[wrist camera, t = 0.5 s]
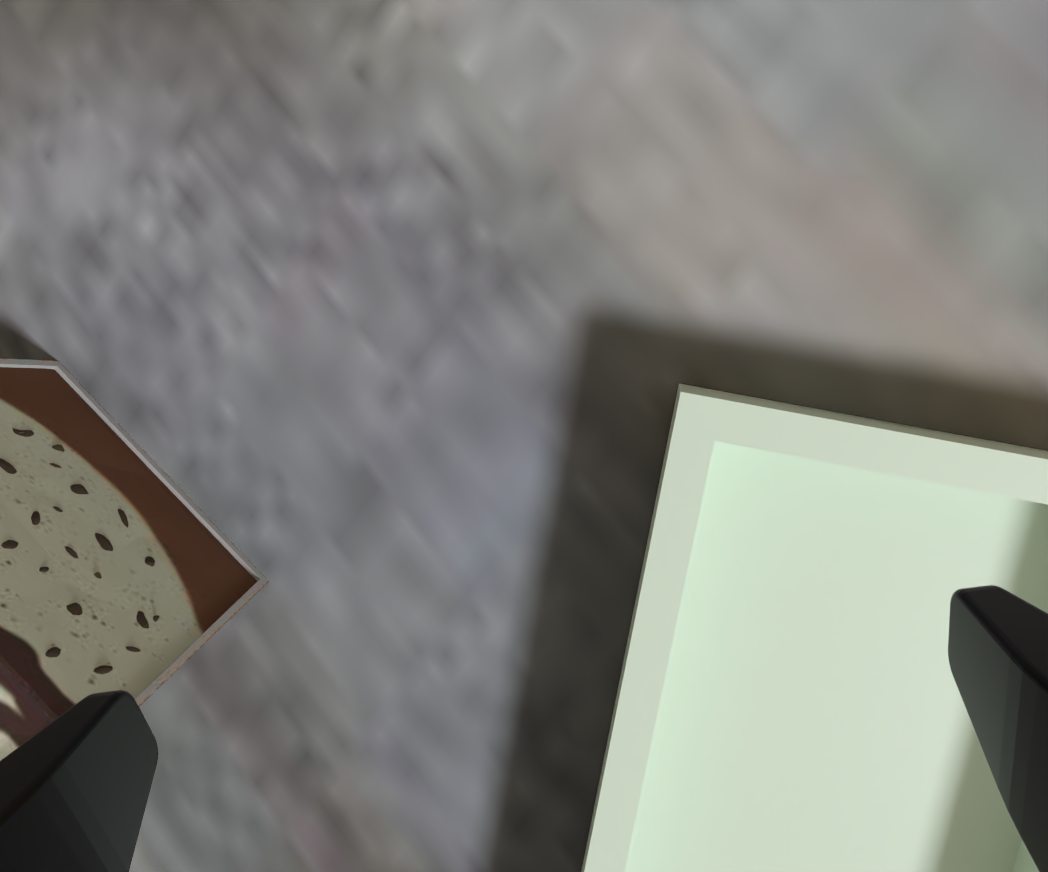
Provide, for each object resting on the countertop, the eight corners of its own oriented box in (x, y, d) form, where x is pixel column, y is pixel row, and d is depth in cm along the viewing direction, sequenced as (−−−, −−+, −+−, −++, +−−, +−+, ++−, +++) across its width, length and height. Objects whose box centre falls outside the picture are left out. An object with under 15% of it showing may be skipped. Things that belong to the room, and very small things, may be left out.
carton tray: (975, 1084, 25) (1017, 1187, 22) (561, 967, 26) (548, 1049, 23) (1153, 470, 22) (1229, 492, 19) (679, 383, 23) (680, 391, 20)
